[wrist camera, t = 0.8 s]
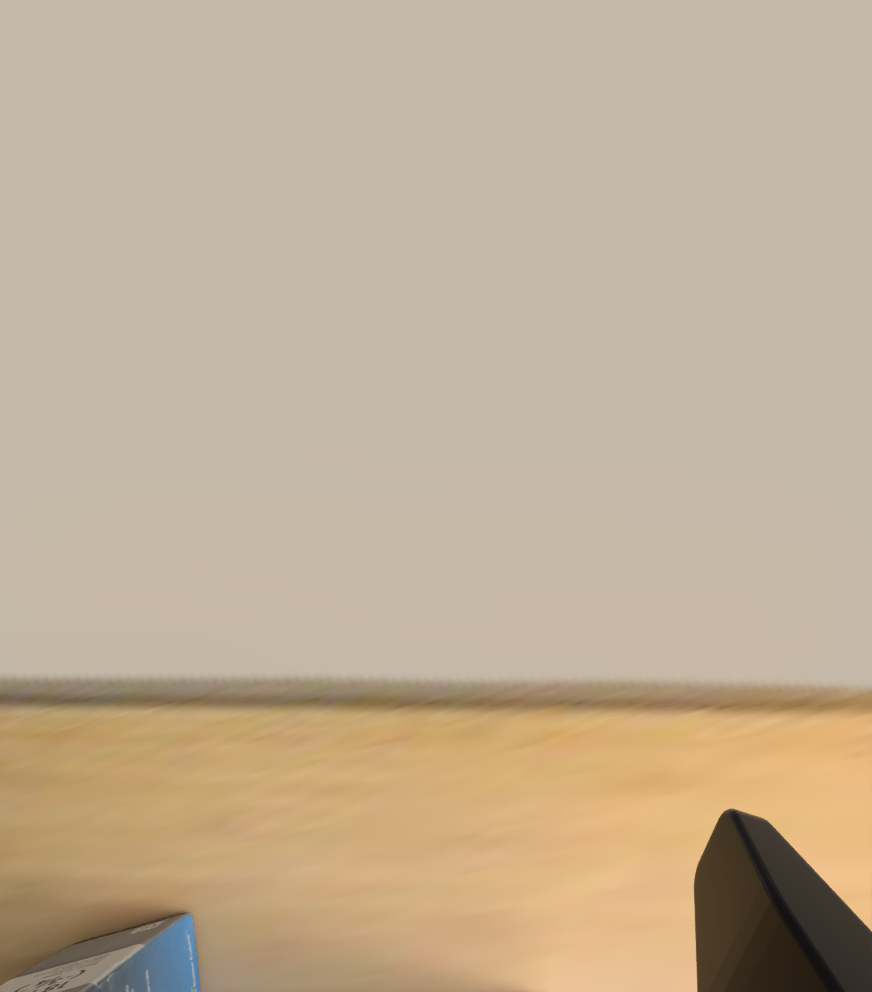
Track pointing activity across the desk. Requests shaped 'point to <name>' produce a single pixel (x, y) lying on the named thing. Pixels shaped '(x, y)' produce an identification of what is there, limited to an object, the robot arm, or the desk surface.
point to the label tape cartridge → (121, 962)
